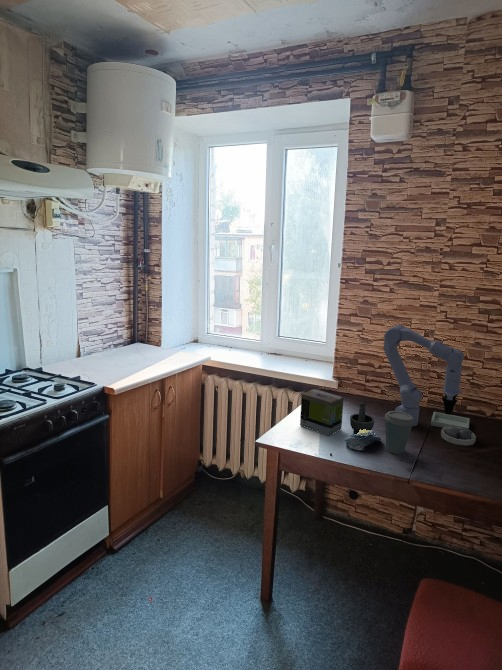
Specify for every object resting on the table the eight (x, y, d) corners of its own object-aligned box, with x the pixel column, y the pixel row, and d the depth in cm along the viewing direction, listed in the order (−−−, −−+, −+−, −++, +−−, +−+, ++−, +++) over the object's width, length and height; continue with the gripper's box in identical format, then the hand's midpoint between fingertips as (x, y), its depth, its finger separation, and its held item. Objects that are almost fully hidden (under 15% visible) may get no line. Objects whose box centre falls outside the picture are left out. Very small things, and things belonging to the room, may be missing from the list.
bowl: (456, 449, 172) (457, 442, 172) (434, 435, 184) (435, 428, 183) (481, 445, 176) (482, 438, 176) (458, 432, 188) (459, 425, 187)
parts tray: (430, 427, 192) (431, 420, 191) (433, 417, 202) (433, 411, 201) (467, 434, 185) (468, 428, 185) (468, 424, 195) (469, 418, 195)
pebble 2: (464, 443, 176) (465, 433, 175) (456, 438, 180) (457, 429, 179) (473, 441, 177) (474, 432, 176) (465, 437, 181) (466, 427, 181)
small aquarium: (342, 429, 187) (344, 396, 184) (329, 437, 180) (331, 403, 176) (312, 419, 197) (314, 387, 194) (299, 425, 190) (300, 393, 186)
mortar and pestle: (373, 440, 178) (375, 412, 175) (349, 437, 180) (351, 410, 177) (371, 428, 189) (374, 402, 186) (349, 426, 191) (351, 399, 188)
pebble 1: (450, 440, 178) (451, 431, 177) (442, 435, 182) (444, 426, 181) (459, 438, 180) (460, 429, 179) (451, 434, 184) (452, 425, 183)
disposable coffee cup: (386, 441, 177) (390, 406, 174) (414, 449, 171) (418, 413, 168) (377, 451, 169) (381, 414, 165) (405, 460, 163) (410, 422, 159)
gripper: (462, 386, 172) (458, 419, 175) (464, 376, 184) (460, 407, 187) (442, 383, 175) (439, 415, 178) (445, 373, 187) (442, 403, 191)
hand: (448, 411), depth 183 cm, fingers open, 7 cm apart
